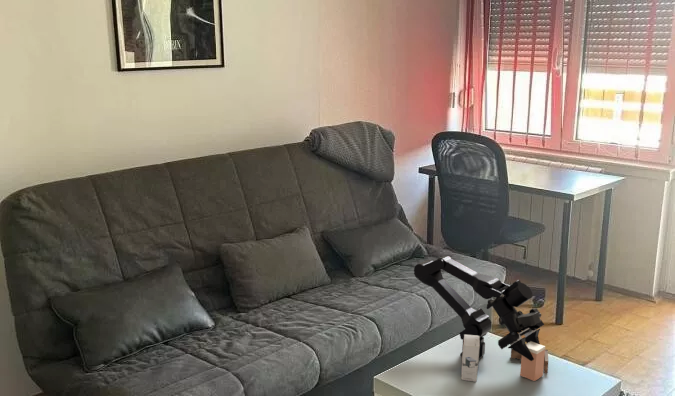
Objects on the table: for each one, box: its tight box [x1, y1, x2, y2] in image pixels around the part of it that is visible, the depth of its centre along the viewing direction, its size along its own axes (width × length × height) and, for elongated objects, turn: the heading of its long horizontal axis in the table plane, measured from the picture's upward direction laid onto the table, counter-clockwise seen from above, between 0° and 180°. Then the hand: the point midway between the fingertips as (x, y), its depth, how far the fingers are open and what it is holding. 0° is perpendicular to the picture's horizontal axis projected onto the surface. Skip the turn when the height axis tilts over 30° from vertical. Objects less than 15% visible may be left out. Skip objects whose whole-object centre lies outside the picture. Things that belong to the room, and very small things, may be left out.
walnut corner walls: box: [510, 348, 549, 374], centre depth 216 cm, size 12×8×4 cm
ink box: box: [460, 334, 480, 382], centre depth 208 cm, size 9×5×12 cm, turn 168°
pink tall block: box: [519, 341, 546, 382], centre depth 207 cm, size 5×5×10 cm
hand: (537, 357), depth 206 cm, fingers closed on pink tall block, 5 cm apart
